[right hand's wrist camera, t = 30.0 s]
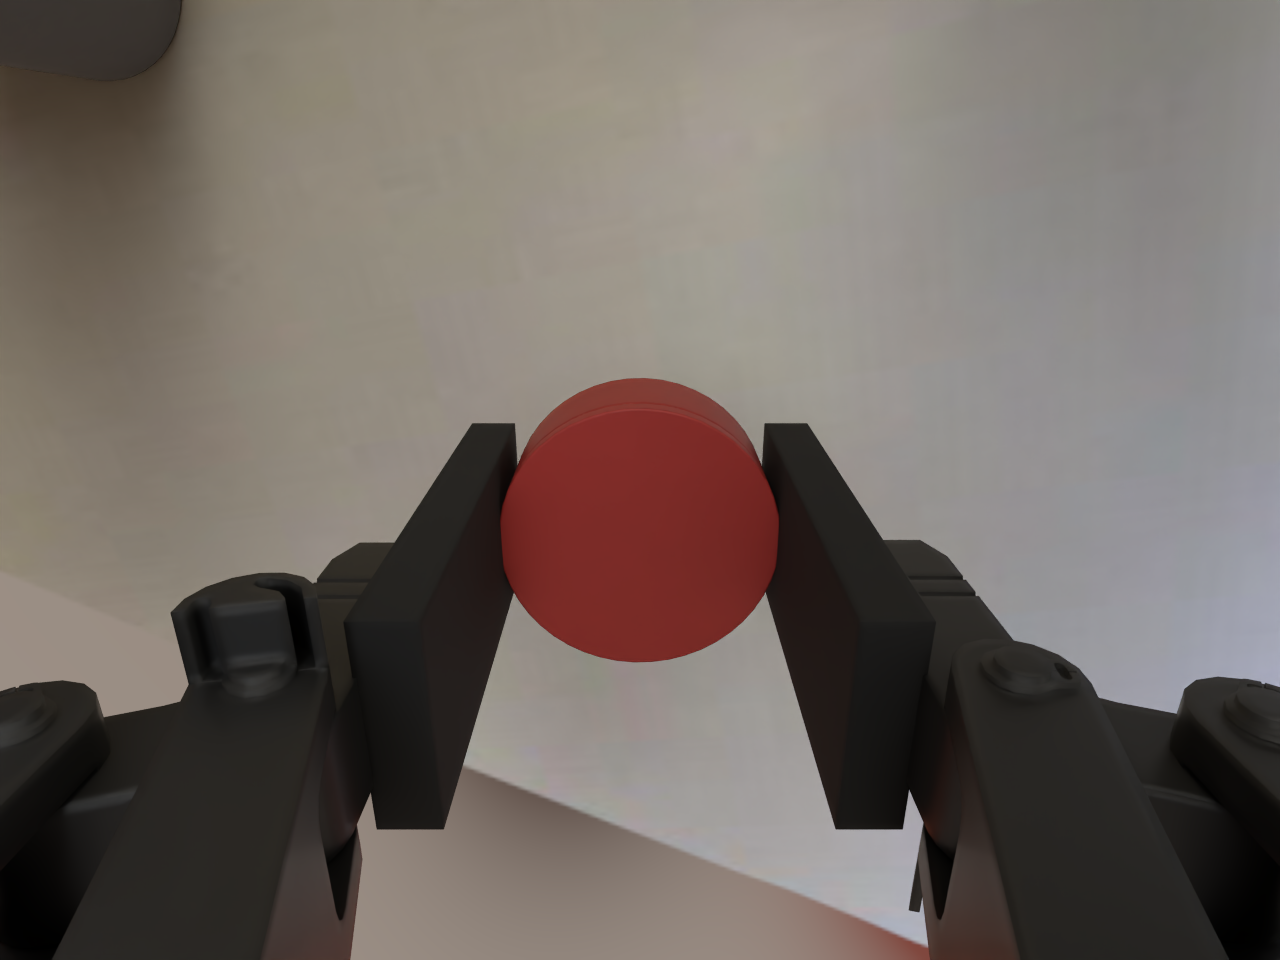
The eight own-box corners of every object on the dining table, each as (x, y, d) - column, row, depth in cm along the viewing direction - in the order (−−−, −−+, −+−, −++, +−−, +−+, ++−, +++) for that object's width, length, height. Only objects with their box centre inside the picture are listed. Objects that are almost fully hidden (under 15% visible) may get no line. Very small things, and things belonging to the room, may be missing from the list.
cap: (464, 491, 14) (439, 536, 12) (647, 322, 13) (648, 346, 11) (632, 646, 15) (631, 708, 14) (813, 504, 14) (838, 551, 13)
